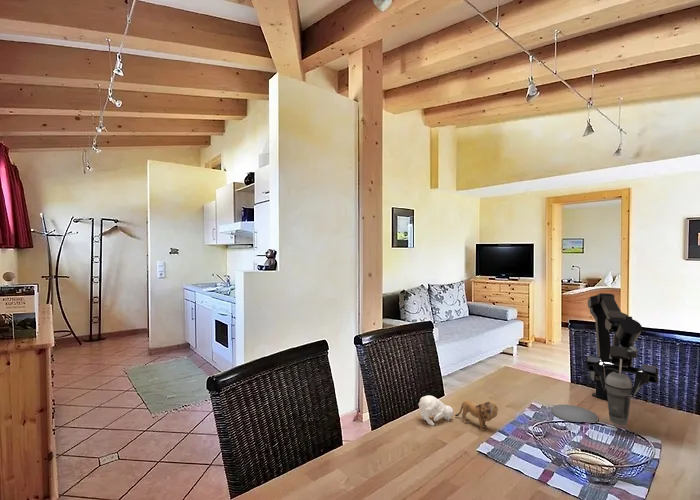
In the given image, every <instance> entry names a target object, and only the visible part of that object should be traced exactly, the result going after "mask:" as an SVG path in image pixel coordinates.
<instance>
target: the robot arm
mask: <svg viewBox="0 0 700 500" xmlns="http://www.w3.org/2000/svg"><path fill="white" fill-rule="evenodd" d="M587 307H588V309H589V313H590V315H591V316H592V317H593V318H594V322H595V323H594V324H595V335H596V346H597V356H596V355H595V356H593V355H590V354H589V355H587V356H586V357H585V361H584V362H585V365H586V370H588V371H590V379H591V381H593V382H595V392H594V393H592V394H591V396H593V397H596V398H598V399H601V400H605V401H607V402H608V398H607V390H606V386H605V380H606V377H607V376H608V375H609V374H610V373H612V372H619V368H620V359H622V368H621V372H622V373H629V374H634V375H635V379H634V382H633V383H634V384H633V385H632V386H633V389H632V394H631V396H632V397H636V394H637V393H638V391H639V390H640V389H641V388H642V387H643V386H644V385H645V384H646V385H647V384H650V383H652V384H658V383H659V368H658V367H657V366H656V365H650V364H645V363H641V367H635V366H633V360H634V359H638V346H637V347H636V346H635V342H637V341H638V340H639V336H640V335H641V332H642V331H643V326H642V325H641V323H640V322H638V320H635V319H633V316H629V314H628V313H624V312H622V310H621V309H620V307H619V304H617V301H616V300H615V294H614V293H613V294H612V293H610V292H609V293H605V292H600V293H597V294H596V295H593V296H590V297H589V298H588V299H587ZM611 333H612V334H614V335H613V338H612V344H611Z"/></svg>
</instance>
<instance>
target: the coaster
mask: <svg viewBox="0 0 700 500" xmlns="http://www.w3.org/2000/svg"><path fill="white" fill-rule="evenodd" d="M550 412H551V414H552V415H553V416H555V417H556V418H557V419H559V420H562V421H565V422H568V421H577V422H584V421H585V422H597V423H598V422H599V416H598V415H597V414H596V413H595V412H593V411H592V410H590V409H587V408H584V407H581V406H577V405H572V404H555V405H553V406H551V408H550Z"/></svg>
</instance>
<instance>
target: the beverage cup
mask: <svg viewBox="0 0 700 500" xmlns="http://www.w3.org/2000/svg"><path fill="white" fill-rule="evenodd" d="M621 368H622V359H620V368H619V372H612V373H610V374H609V375H608V376H607V377H606V380H605V386H606V390H607V398H608V401H607V407H608V408H607V409H608V415H609V416H608V417H609V421H610V422H611V423H612V424H615V425H618V426H627V425H628V421H629V415H630V407H631V406H630V405H631V396H632V391H633V386H634V385H633V383H632V379H631V378H630V377H629V376H628V375H627V374H626V373H625V372H622V371H621Z"/></svg>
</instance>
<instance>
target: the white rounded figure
mask: <svg viewBox="0 0 700 500" xmlns="http://www.w3.org/2000/svg"><path fill="white" fill-rule="evenodd" d="M418 407H419V409H418V410H419V414H420V417H421V418H422V419H423V421H426V422H427V424H428V425H430V426H432V427H434V426H435V423H434V422H437V421H440V419H442V418H444V420H445V421H446V420H447V421H448V422H449V421H450V420H451V419H452V417H453V415H454V409H453V408H452V407H451V406H450V405H448V404H447V405H446V404H444V403H443V402H442V401H441V400H440V399H438V398H437V397H435V396H433V395H425V396H422V397H421V398H420V399H419V402H418ZM430 416H433V420H432V419H430Z"/></svg>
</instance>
